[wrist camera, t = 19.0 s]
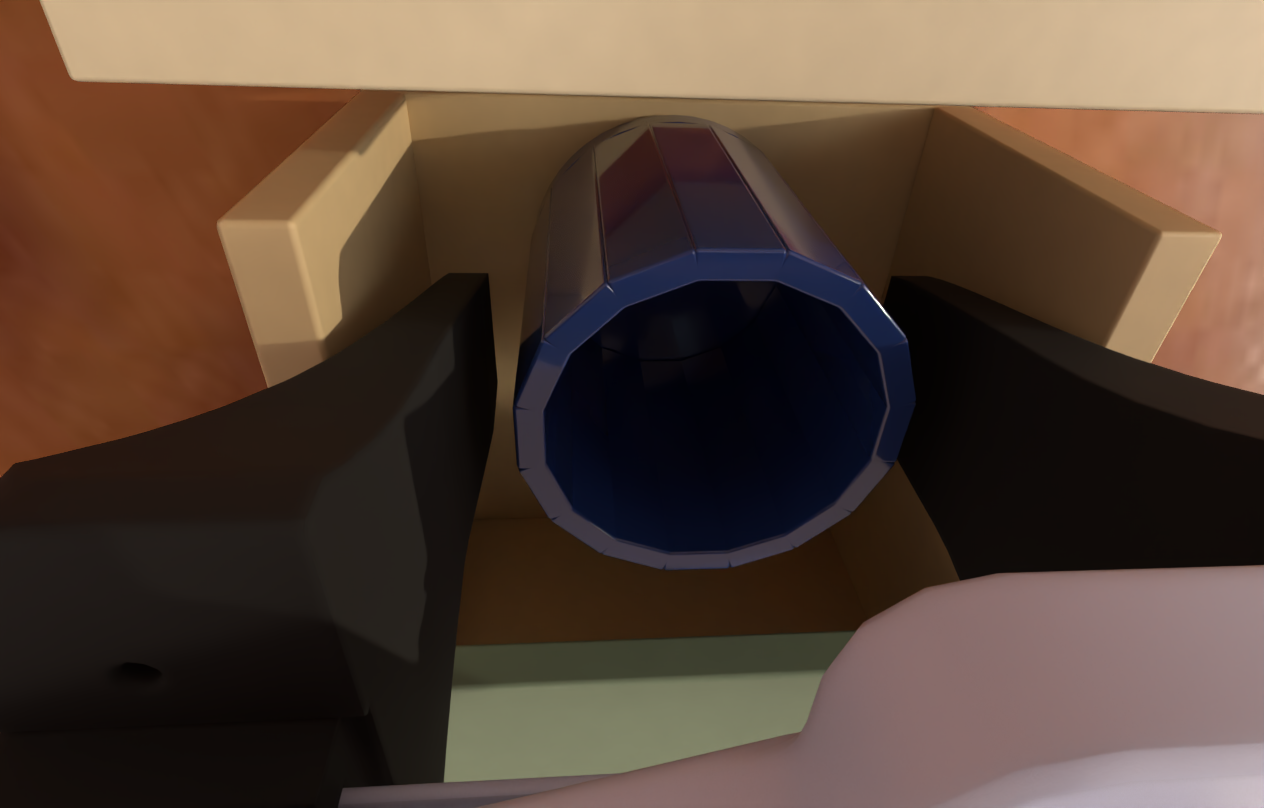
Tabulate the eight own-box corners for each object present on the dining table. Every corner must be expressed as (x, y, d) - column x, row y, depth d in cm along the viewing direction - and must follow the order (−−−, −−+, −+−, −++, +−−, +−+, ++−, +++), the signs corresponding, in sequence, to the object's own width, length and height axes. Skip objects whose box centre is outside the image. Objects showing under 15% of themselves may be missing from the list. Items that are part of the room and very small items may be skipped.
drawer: (203, -595, 8) (-680, -1798, 2) (1166, -492, 9) (2181, -1164, 3) (416, 512, 19) (348, 786, 13) (855, 502, 20) (975, 752, 14)
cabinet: (373, 357, 17) (226, 700, 10) (904, 356, 18) (1131, 660, 11) (442, 694, 26) (392, 1013, 18) (802, 678, 27) (891, 973, 19)
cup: (527, 110, 12) (500, 246, 7) (816, 117, 13) (970, 251, 8) (538, 361, 15) (524, 576, 10) (771, 360, 16) (861, 565, 11)
